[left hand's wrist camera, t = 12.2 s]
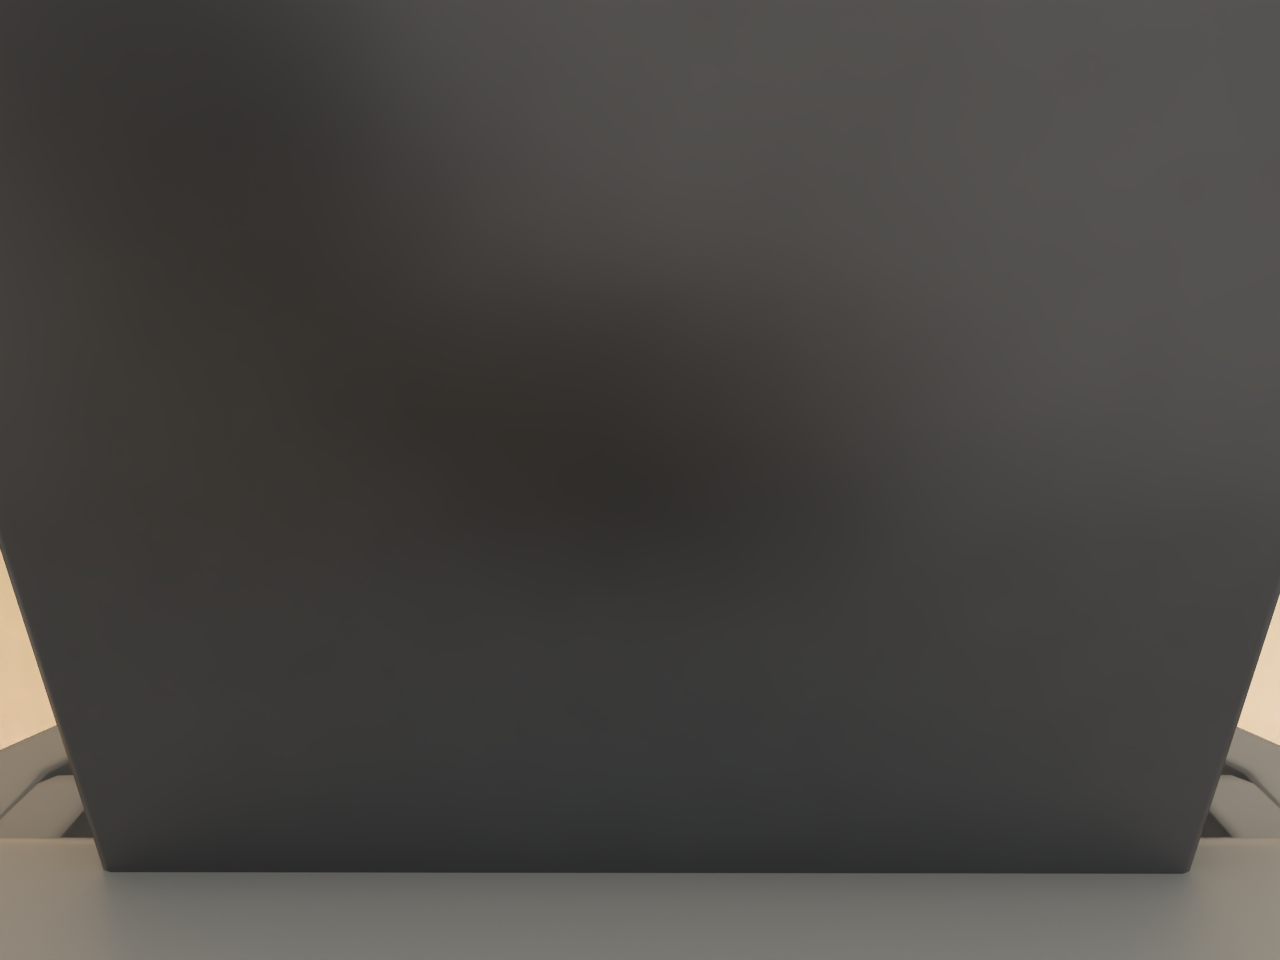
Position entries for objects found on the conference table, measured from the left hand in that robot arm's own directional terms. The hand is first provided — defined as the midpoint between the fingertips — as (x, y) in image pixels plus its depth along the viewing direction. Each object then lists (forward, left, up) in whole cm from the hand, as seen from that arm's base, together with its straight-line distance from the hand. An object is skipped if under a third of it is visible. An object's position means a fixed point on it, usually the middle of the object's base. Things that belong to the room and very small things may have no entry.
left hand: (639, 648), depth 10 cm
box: (+2, +9, -8) cm, 12 cm away
